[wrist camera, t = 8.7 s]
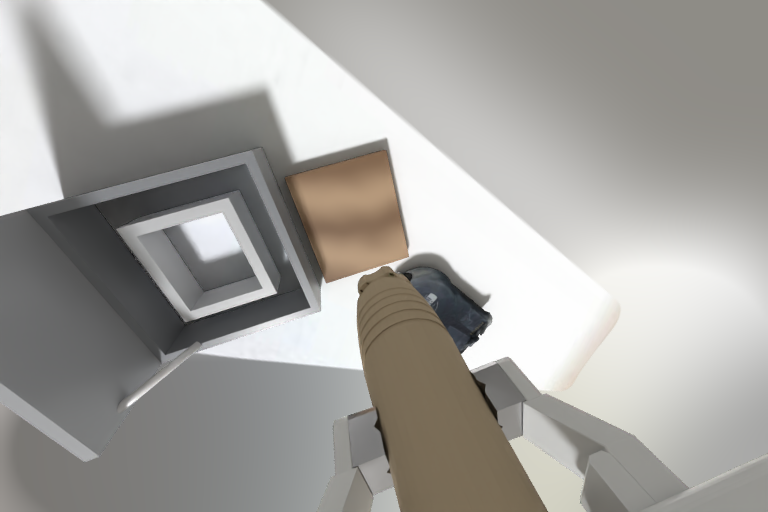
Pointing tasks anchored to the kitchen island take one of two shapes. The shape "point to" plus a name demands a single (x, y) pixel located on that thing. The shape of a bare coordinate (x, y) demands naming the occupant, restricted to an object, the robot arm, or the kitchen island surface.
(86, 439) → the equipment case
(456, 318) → the electronic device
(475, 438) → the handle
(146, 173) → the kitchen island surface
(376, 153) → the walnut pad
